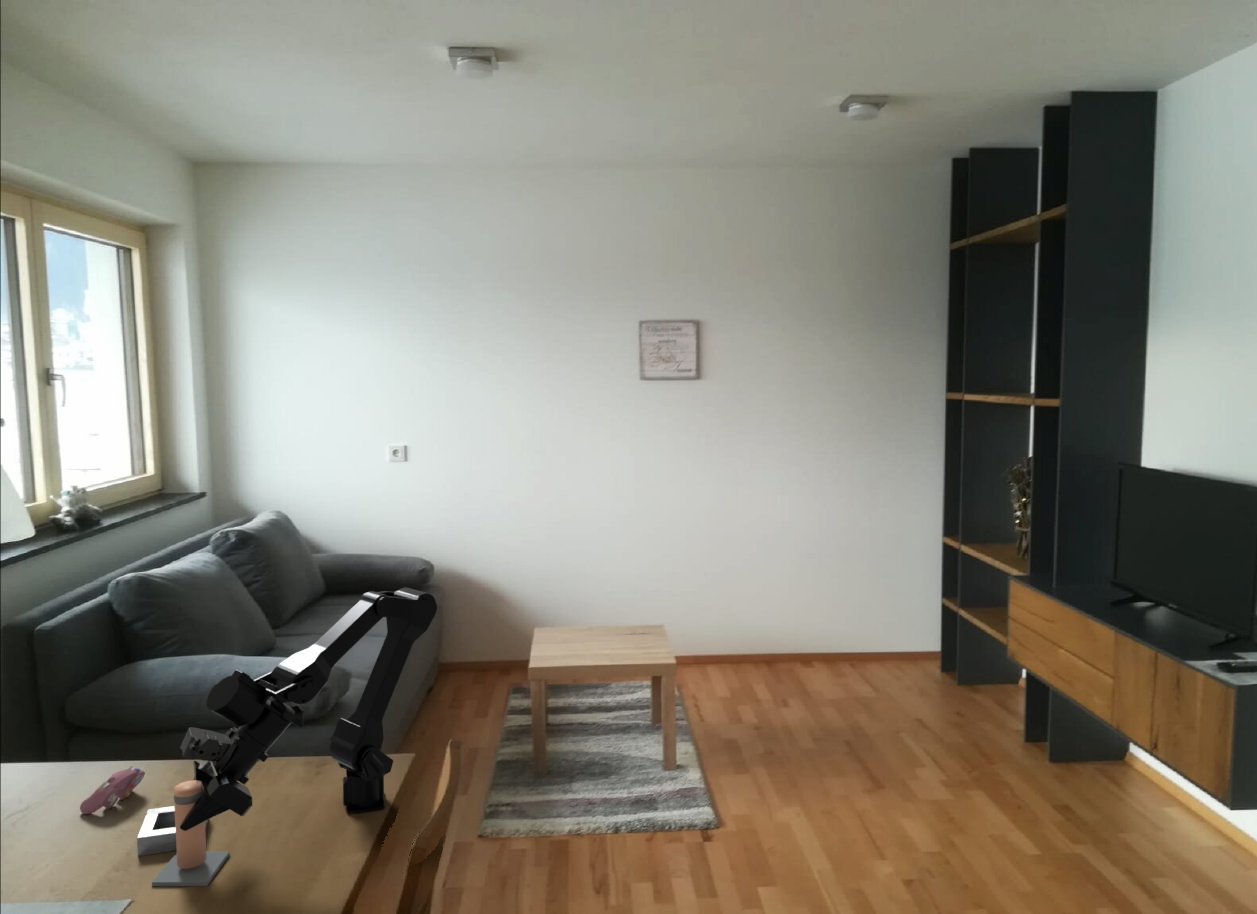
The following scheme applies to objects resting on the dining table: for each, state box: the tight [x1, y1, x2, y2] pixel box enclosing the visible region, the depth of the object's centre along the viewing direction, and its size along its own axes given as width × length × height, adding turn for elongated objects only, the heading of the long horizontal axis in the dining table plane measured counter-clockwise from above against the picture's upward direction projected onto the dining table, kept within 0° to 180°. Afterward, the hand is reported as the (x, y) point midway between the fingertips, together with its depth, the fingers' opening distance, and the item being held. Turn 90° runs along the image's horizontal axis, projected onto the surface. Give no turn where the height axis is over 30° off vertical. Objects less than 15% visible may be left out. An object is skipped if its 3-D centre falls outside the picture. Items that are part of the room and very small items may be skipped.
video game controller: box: [79, 765, 146, 815], centre depth 151 cm, size 10×5×7 cm, turn 169°
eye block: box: [136, 805, 209, 857], centre depth 141 cm, size 9×9×3 cm
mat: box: [151, 851, 230, 887], centre depth 132 cm, size 8×8×1 cm
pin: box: [173, 780, 207, 869], centre depth 131 cm, size 4×4×12 cm
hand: (180, 822), depth 130 cm, fingers closed on pin, 4 cm apart
